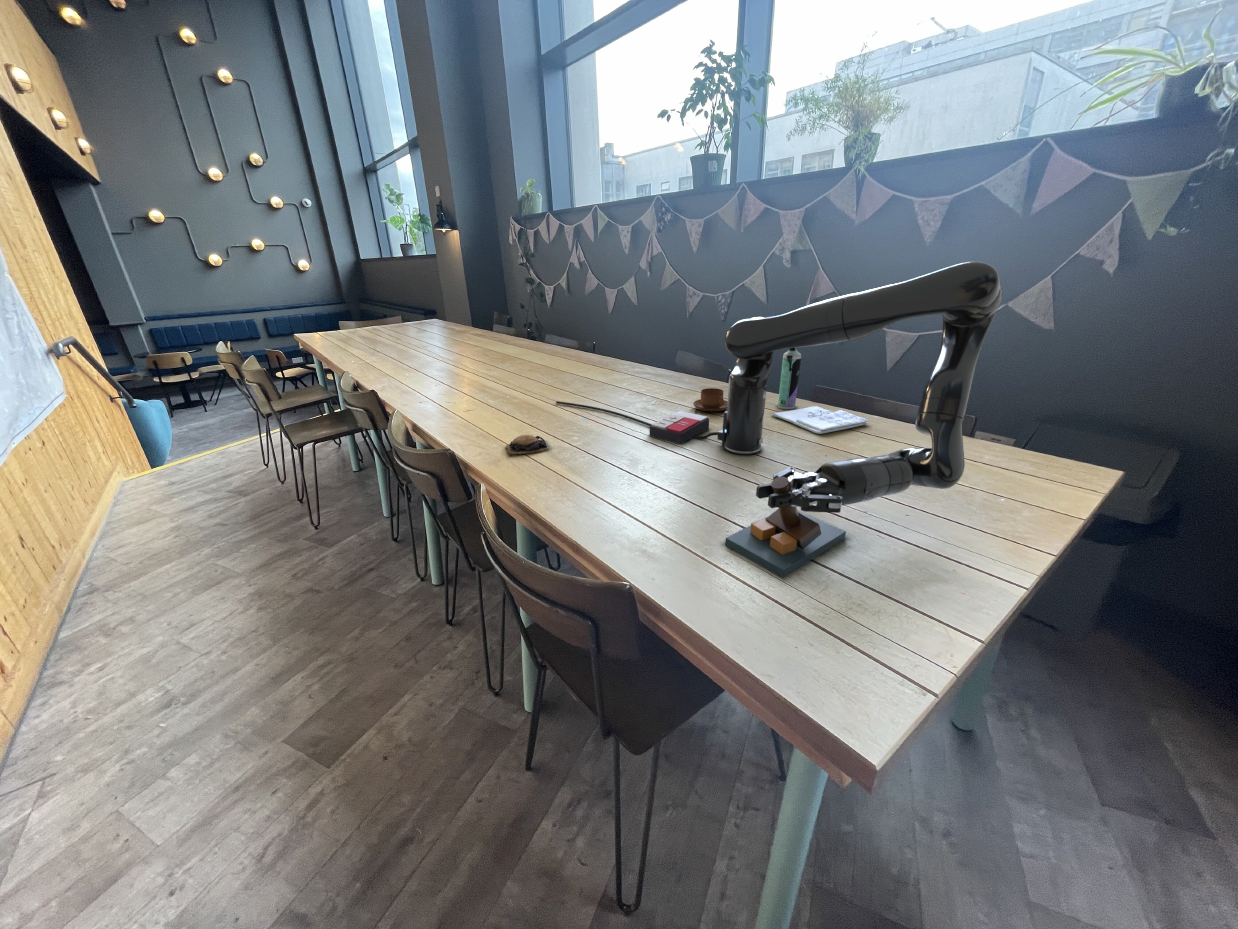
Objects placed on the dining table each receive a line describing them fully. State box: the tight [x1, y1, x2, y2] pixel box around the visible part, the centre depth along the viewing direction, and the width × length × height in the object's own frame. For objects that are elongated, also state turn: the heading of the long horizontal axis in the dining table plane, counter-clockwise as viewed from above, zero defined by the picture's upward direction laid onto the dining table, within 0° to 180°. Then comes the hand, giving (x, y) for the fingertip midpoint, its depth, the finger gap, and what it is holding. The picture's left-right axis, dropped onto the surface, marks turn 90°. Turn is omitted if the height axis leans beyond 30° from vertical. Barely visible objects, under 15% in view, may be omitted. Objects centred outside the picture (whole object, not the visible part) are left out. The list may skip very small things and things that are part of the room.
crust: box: [770, 532, 797, 555], centre depth 78 cm, size 3×3×2 cm
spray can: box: [777, 347, 802, 410], centre depth 153 cm, size 6×6×20 cm
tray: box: [724, 510, 847, 578], centre depth 83 cm, size 12×18×2 cm, turn 126°
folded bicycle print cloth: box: [772, 405, 869, 435], centre depth 142 cm, size 19×20×2 cm
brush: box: [765, 477, 822, 550], centre depth 79 cm, size 8×4×12 cm, turn 26°
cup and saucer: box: [693, 387, 728, 413], centre depth 156 cm, size 12×12×6 cm
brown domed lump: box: [506, 434, 549, 456], centre depth 128 cm, size 11×8×4 cm
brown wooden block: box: [750, 518, 776, 540], centre depth 82 cm, size 3×3×2 cm
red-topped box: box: [648, 410, 710, 444], centre depth 136 cm, size 11×4×15 cm
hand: (763, 496), depth 76 cm, fingers closed on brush, 3 cm apart
